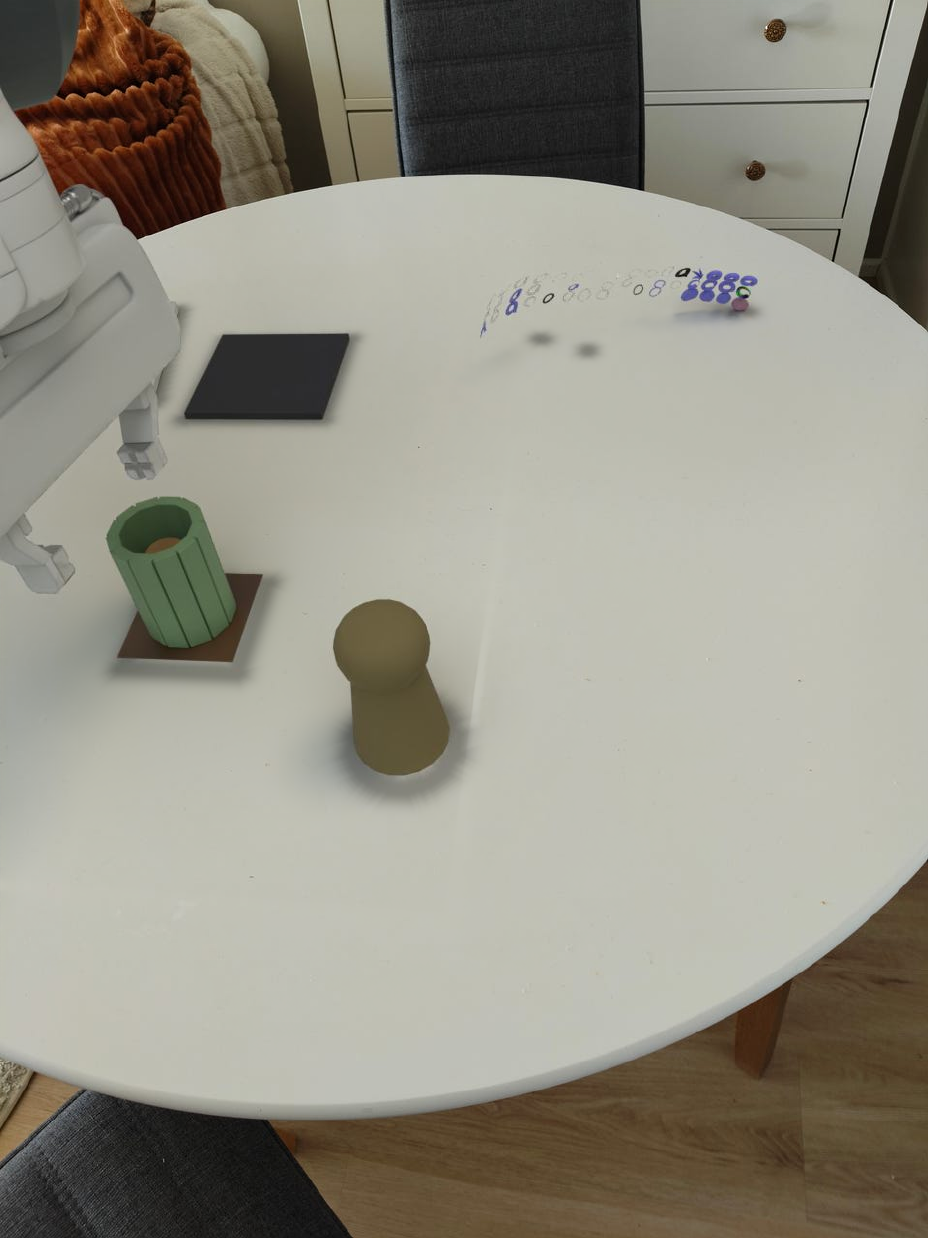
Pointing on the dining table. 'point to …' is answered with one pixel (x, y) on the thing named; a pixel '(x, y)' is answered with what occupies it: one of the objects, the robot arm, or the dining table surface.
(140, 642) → the peg stand
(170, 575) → the green tube
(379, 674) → the olive brown pawn
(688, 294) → the ring set
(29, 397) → the robot arm
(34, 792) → the dining table surface
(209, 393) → the mat
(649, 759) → the dining table surface
